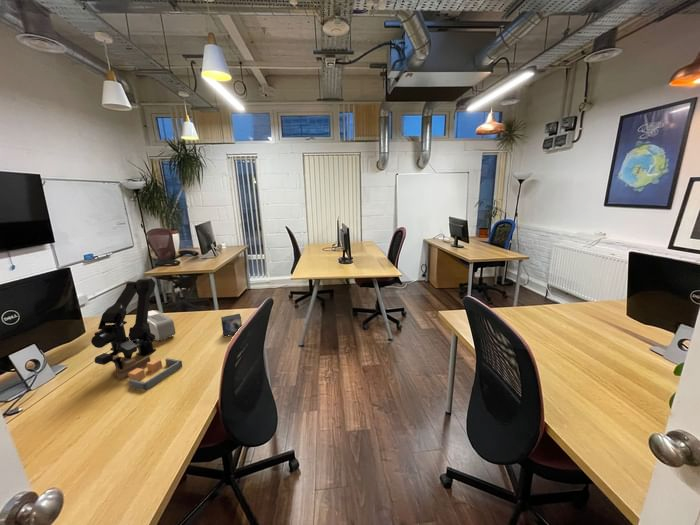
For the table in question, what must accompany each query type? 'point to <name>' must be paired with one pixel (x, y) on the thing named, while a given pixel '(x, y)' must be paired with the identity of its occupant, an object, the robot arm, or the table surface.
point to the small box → (231, 324)
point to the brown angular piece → (130, 366)
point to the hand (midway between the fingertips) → (124, 366)
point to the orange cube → (154, 365)
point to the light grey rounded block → (160, 325)
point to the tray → (146, 385)
